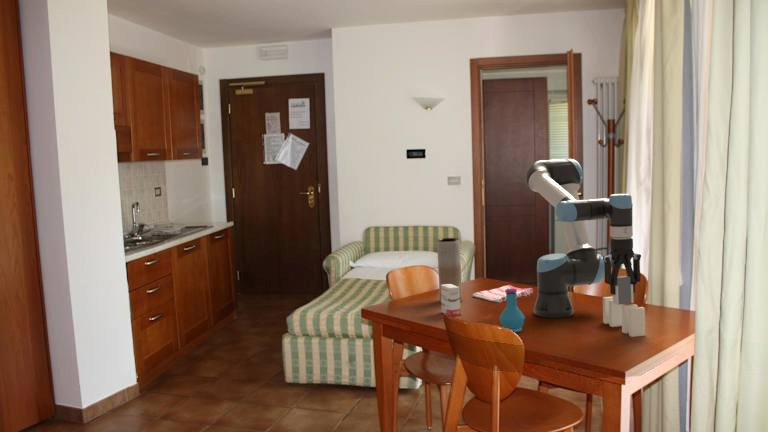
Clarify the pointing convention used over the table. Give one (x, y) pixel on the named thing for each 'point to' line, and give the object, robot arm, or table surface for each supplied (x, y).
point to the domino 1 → (624, 289)
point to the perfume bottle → (512, 312)
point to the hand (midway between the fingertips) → (623, 302)
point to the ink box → (450, 299)
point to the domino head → (606, 309)
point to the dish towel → (501, 293)
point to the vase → (449, 263)
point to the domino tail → (637, 321)
